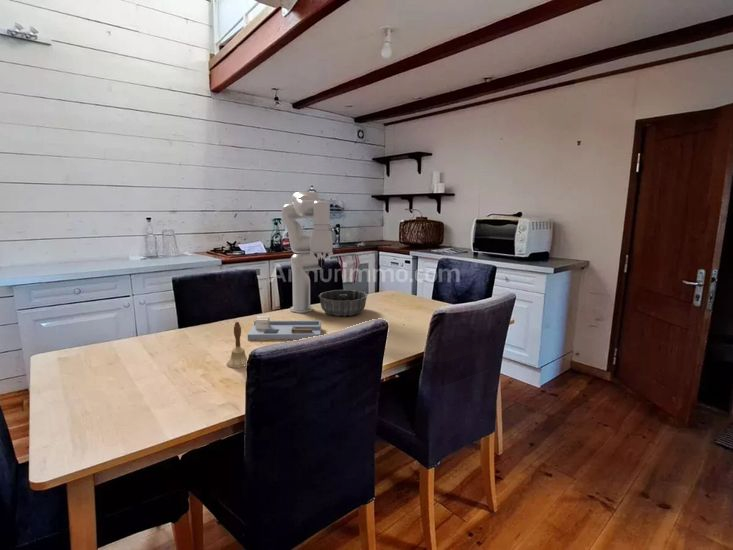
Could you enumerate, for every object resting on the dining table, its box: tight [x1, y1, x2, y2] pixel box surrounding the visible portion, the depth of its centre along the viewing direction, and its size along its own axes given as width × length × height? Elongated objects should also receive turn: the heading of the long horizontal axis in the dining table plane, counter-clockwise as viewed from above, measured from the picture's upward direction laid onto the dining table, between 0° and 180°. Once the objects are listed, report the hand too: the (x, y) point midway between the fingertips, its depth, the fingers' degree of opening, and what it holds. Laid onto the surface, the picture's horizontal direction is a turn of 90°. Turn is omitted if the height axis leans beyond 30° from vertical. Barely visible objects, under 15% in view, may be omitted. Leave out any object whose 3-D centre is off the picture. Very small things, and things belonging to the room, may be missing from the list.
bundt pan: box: [318, 289, 368, 317], centre depth 214 cm, size 26×26×10 cm
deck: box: [247, 320, 322, 341], centre depth 177 cm, size 15×31×4 cm, turn 95°
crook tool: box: [292, 328, 312, 333], centre depth 173 cm, size 3×9×1 cm, turn 95°
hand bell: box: [226, 321, 248, 369], centre depth 143 cm, size 8×8×16 cm
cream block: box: [254, 315, 271, 329], centre depth 178 cm, size 6×6×4 cm
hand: (321, 267), depth 183 cm, fingers closed
